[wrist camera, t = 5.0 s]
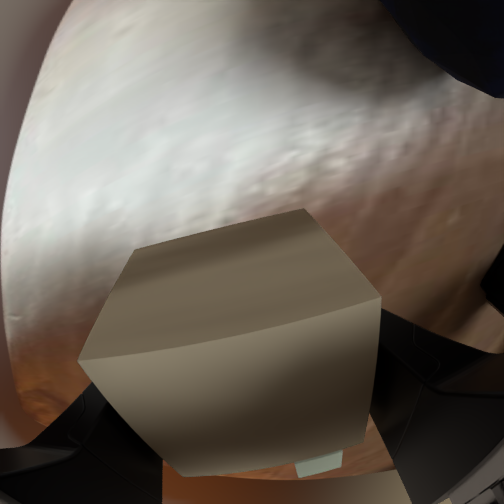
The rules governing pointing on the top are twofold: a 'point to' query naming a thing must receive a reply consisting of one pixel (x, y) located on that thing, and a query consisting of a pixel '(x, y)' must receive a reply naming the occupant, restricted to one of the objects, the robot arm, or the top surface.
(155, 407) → the maple block
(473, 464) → the robot arm
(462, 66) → the decorative orb
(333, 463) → the sage block
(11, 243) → the top surface
